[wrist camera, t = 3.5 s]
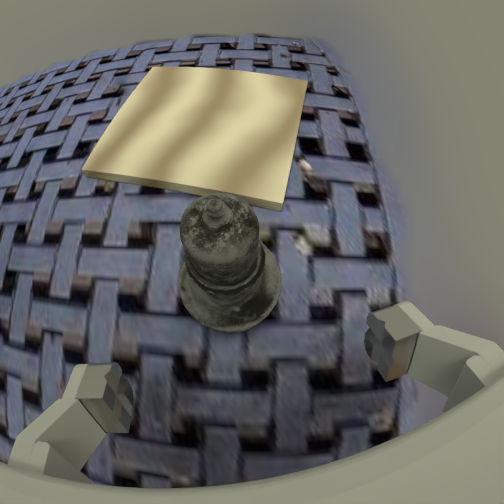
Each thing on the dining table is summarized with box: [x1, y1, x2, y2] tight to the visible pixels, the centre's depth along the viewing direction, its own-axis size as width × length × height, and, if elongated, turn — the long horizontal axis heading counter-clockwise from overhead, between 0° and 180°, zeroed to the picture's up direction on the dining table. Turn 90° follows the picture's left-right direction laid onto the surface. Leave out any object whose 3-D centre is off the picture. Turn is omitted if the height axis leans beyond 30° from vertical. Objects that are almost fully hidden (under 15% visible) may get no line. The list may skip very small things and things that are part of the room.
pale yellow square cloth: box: [82, 67, 307, 212], centre depth 25 cm, size 18×16×1 cm
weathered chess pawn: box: [178, 193, 282, 333], centre depth 14 cm, size 6×6×12 cm
